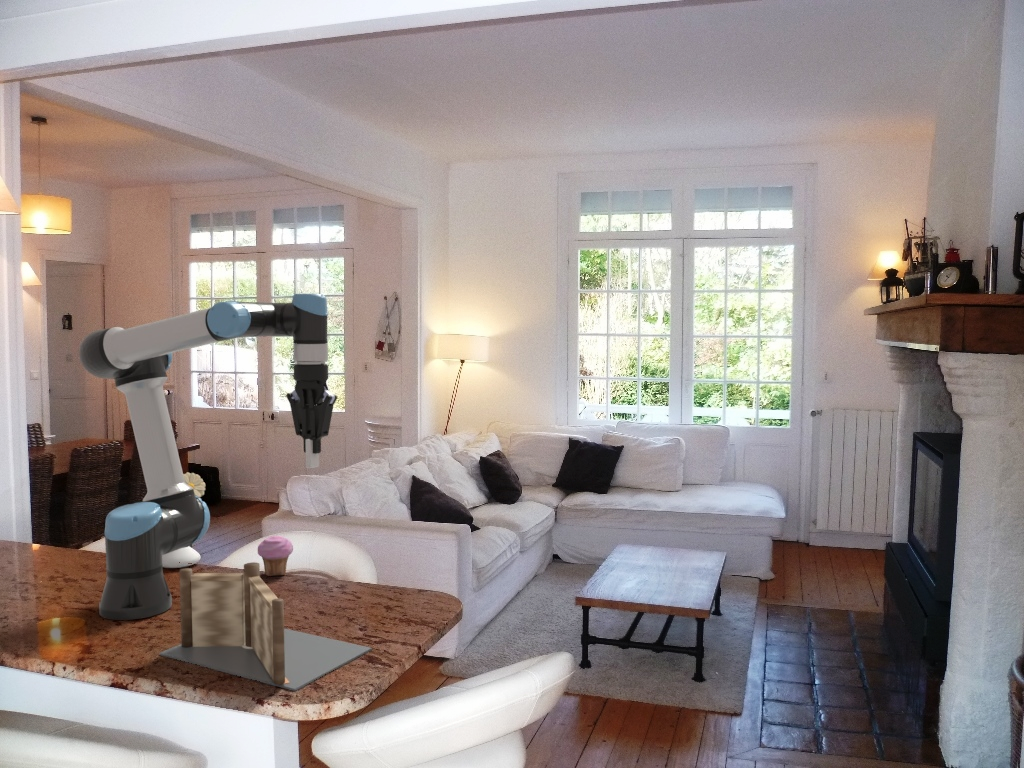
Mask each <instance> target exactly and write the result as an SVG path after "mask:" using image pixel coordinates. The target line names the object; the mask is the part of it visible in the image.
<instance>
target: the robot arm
mask: <svg viewBox="0 0 1024 768" xmlns="http://www.w3.org/2000/svg"><path fill="white" fill-rule="evenodd" d="M328 316H329V312H328V304H327V297H326V296H325V295H324V294H322V293H295V294H293V296H292V299H291V302H259V301H258V302H256V301H254V302H253V301H236V300H226V301H219V302H216V303H214V304H213V306H211V307H208V308H204V309H200V310H196V311H192V312H189V313H183V314H180V315H177V316H171V317H168V318H165V319H164V318H163V319H160V320H157V321H152V322H148V323H144V324H140V325H136V326H133V327H129V328H123V327H120V326H115V327H109V328H102V329H97V330H94V331H92V332H90V333H89V334H87V335H86V336H85V337H84V338H83V340H82V341H81V343H80V345H79V350H78V357H79V361H80V364H81V365H82V367H83V368H84V370H85V371H87V372H88V374H91V376H93V377H97V378H99V379H105V380H114V383H115V388H116V390H118V391H119V392H121V393H123V394H124V396H125V400H126V405H127V408H128V413H129V418H130V422H131V426H132V429H133V434H134V440H135V443H136V447H137V451H138V455H139V460H140V463H141V464H140V465H141V468H142V469H141V470H142V473H143V477H144V482H145V486H146V490H147V493H145V496H144V498H143V499H142V501H139V502H134V503H130V504H129V503H128V504H124V505H121V506H118V507H116V508H114V509H113V510H111V511H110V512H108V514H107V515H106V518H105V525H104V526H105V528H104V533H103V534H104V541H105V543H104V545H105V561H106V564H105V565H106V566H105V568H106V580H105V584H104V588H103V591H102V595H101V599H100V600H99V603H98V613H99V616H101V618H104V619H108V620H112V621H113V620H116V621H122V620H123V621H130V620H139V619H144V618H150V617H153V616H157V615H160V614H162V613H164V612H166V611H168V610H170V609H171V607H172V606H173V599H172V594H171V592H170V588H169V586H168V583H167V580H166V578H165V575H164V572H163V571H164V569H163V568H164V567H163V565H162V555H164V554H167V553H170V552H172V551H175V550H178V549H180V548H185V547H188V546H189V547H191V546H192V545H193V544H195V543H197V542H199V541H200V540H201V539H202V538H204V536H205V534H206V533H207V531H209V527H210V523H211V513H210V510H209V507H208V505H207V503H206V502H205V501H203V500H202V499H203V498H201V497H197V496H195V493H194V489H193V487H191V486H190V485H188V484H186V483H185V480H184V476H183V474H184V473H183V468H182V464H181V460H180V456H179V450H178V447H177V443H176V442H177V441H176V438H175V433H174V429H173V426H172V422H171V418H170V417H171V416H170V413H169V408H168V403H167V400H166V395H165V391H164V385H165V383H166V382H167V380H168V375H167V371H168V370H169V369H170V367H171V363H172V362H173V354H174V353H177V352H181V351H186V350H189V349H193V348H198V347H202V346H203V347H204V346H207V345H211V344H214V343H219V342H225V341H229V340H232V339H238V338H247V337H248V338H250V337H258V338H259V337H263V338H265V337H292V341H293V342H292V343H293V352H292V353H293V358H292V359H293V362H295V364H294V365H293V379H294V381H295V385H294V390H293V391H292V392H288V393H286V399H287V401H288V402H289V406H290V411H291V416H292V422H293V426H294V427H293V428H294V431H295V436H299V437H302V439H303V453H304V454H305V468H306V469H315V468H320V454H321V451H322V439H323V438H324V437H328V436H329V433H330V427H331V420H332V416H333V412H334V411H333V410H334V405H335V403H336V401H337V399H338V395H337V394H333V393H332V392H330V391H329V386H328V384H327V381H328V379H329V365H328V364H327V363H326V362H327V361H329V352H328V351H329V348H328V347H329V345H328V343H329V342H328Z"/></svg>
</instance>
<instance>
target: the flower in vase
mask: <svg viewBox="0 0 1024 768" xmlns="http://www.w3.org/2000/svg"><path fill="white" fill-rule="evenodd" d="M183 476H184V480H185V483H186V484H188V485H190V486H191V487H193V489H194V493H195V496H197V497H199V498H201V497H203V496H204V495H205V491H206V483H205V482H204V480H203V478H201V476H200V475H199V474H196V473H194V472H191V473H190V472H188V471H187V472H186V473H183ZM199 561H201V555H200V553H199V552H198V551H197V550H195V549H194V548H192V547H191V546H188V547H185V548H180V549H178V550H175V551H172V552H170V553H167V554H164V555H162V565H163V568H165V569H177V568H179V569H181V568H187V567H189V566H190V567H191V566H192V565H194V564H197V563H198V562H199ZM179 562H180V563H179ZM188 563H192V564H188Z"/></svg>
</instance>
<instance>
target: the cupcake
mask: <svg viewBox="0 0 1024 768" xmlns="http://www.w3.org/2000/svg"><path fill="white" fill-rule="evenodd" d="M293 552H294V545H293V543H292V541H291V540H290V539H288V538H287V537H285V536H280V535H273V536H268V537H266V538H264V539H263V540H262V541H261V542H260V543H259V544H258V546H257V554H258V556H260V557H261V558H262V561H263V569H264V574H265V576H267V577H271V576H273V577H274V576H285V574H286V572H287V563H288V559H289V557H290V555H291V554H292V553H293Z"/></svg>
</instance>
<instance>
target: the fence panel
mask: <svg viewBox="0 0 1024 768" xmlns="http://www.w3.org/2000/svg"><path fill="white" fill-rule="evenodd" d="M249 583H250V604H251V647H252V648H253V650H254V651H255V653H256V654H257V656H258V657H259V659H260V661H261V662H262V664H263V665H264V667H265V668H266V670H267V671H268V673H269V675H270V676H271V678H272V679H273V681H274V684H275V685H281V684H284V683H285V648H284V628H285V610H284V609H285V605H284V603H285V601H284V599H283V598H278V597H277V595H276V594H275V593H274V592H273V590H272V589H271V588H270V587H269V586H268V585H267V584H266V583H265V581H264V580H263V579H262V578H261V576H260V577H259V576H255V577H249Z"/></svg>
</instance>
